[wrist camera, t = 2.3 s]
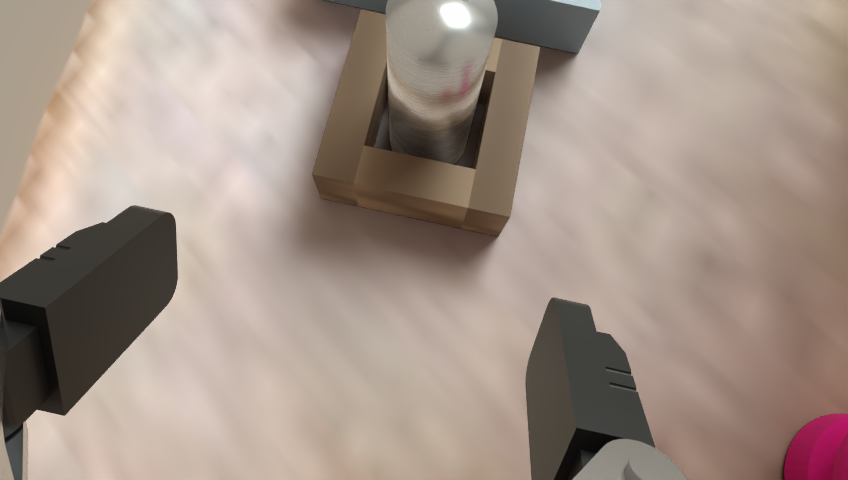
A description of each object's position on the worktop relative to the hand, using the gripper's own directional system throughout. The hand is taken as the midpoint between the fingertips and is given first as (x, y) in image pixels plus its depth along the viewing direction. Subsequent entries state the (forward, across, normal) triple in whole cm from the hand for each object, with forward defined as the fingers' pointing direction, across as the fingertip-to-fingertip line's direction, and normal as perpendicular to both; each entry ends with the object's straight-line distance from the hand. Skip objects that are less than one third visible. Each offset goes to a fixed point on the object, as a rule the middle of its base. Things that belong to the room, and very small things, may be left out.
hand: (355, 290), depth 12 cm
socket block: (+18, 0, +2) cm, 18 cm away
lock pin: (+18, 0, +2) cm, 18 cm away
